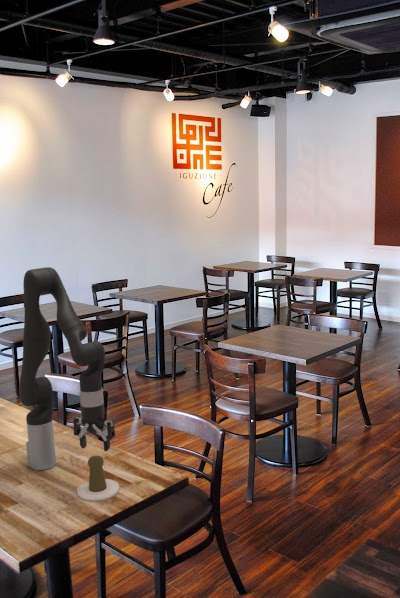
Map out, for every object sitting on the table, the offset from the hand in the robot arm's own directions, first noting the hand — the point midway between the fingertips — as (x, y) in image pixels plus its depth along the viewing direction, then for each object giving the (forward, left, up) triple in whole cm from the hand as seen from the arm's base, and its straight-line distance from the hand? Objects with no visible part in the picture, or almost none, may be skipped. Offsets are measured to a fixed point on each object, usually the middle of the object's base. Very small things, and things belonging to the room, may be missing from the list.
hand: (95, 449), depth 203 cm
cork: (0, 0, -14) cm, 14 cm away
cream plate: (0, 0, -15) cm, 15 cm away
